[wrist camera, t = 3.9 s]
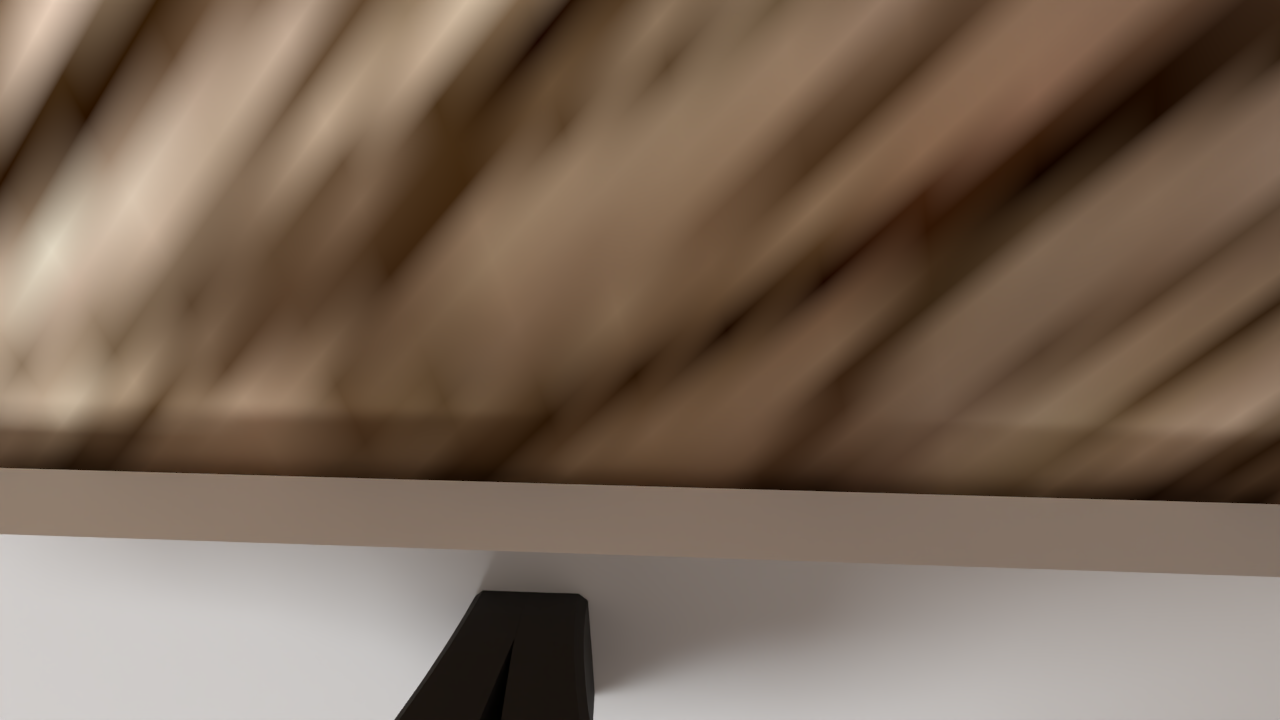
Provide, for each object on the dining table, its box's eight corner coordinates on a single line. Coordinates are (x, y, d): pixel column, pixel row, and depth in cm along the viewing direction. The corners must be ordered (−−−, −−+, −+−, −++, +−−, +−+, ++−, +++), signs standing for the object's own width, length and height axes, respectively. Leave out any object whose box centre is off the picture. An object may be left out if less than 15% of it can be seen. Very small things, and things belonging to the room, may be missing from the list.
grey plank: (1159, 838, 15) (1192, 914, 14) (41, 780, 16) (-2, 846, 15) (1354, 506, 11) (1420, 581, 10) (-184, 462, 12) (-263, 525, 11)
